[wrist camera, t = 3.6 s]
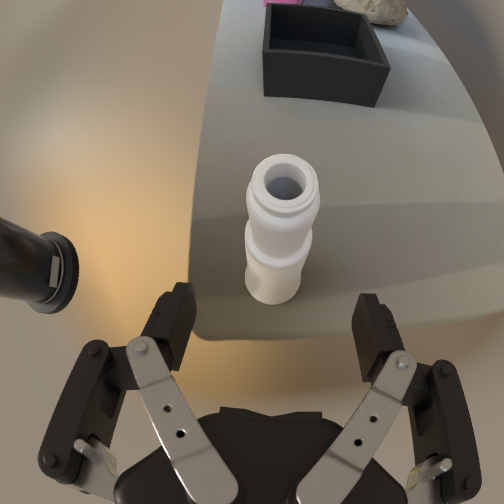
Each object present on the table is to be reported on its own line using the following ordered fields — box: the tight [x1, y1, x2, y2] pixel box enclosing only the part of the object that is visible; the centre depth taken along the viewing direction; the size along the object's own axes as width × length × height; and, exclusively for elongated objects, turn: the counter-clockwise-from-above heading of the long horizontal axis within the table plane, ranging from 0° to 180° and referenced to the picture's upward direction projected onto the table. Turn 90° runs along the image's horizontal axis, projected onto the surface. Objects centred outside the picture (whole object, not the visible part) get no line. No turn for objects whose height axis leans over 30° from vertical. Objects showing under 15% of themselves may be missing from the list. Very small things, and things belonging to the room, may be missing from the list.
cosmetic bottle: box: [245, 154, 320, 305], centre depth 20 cm, size 6×6×22 cm
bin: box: [262, 3, 391, 108], centre depth 33 cm, size 17×17×9 cm
